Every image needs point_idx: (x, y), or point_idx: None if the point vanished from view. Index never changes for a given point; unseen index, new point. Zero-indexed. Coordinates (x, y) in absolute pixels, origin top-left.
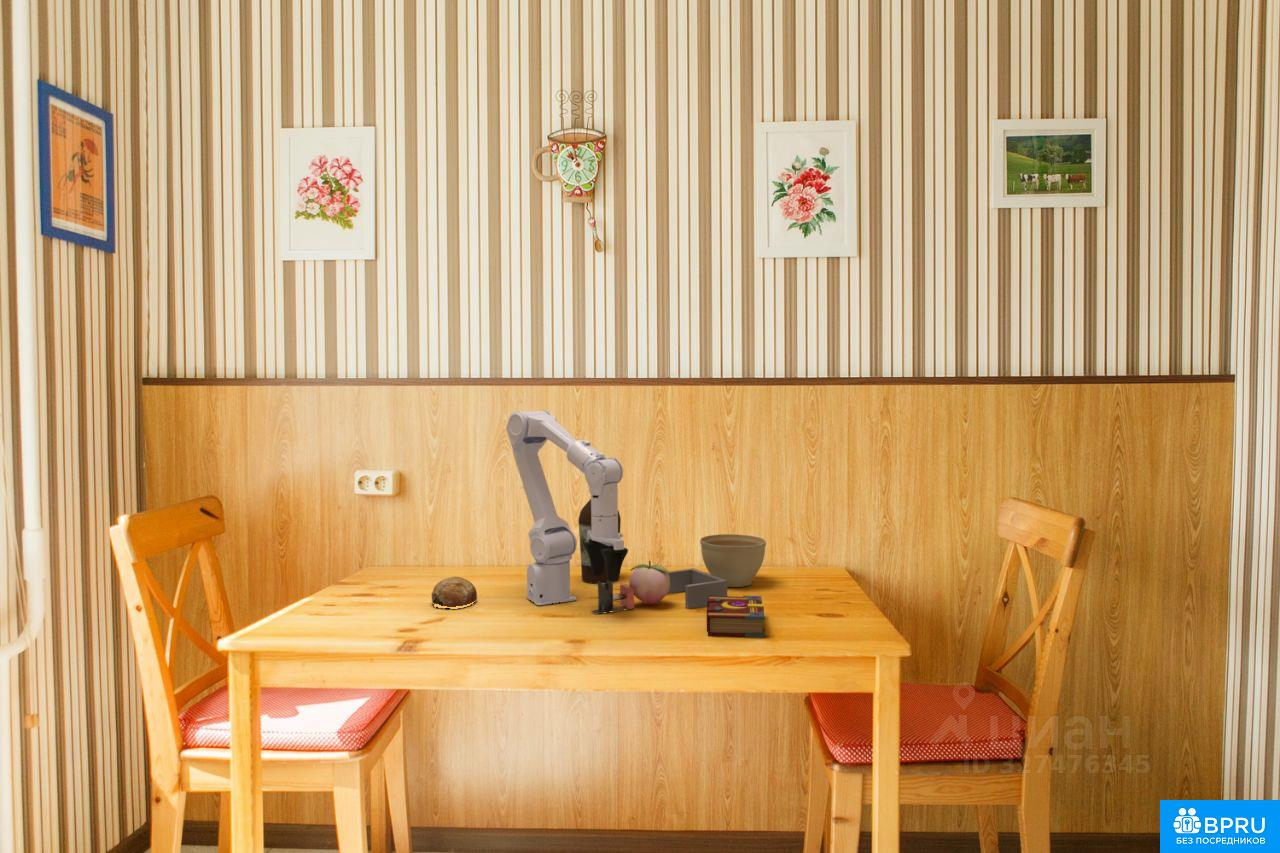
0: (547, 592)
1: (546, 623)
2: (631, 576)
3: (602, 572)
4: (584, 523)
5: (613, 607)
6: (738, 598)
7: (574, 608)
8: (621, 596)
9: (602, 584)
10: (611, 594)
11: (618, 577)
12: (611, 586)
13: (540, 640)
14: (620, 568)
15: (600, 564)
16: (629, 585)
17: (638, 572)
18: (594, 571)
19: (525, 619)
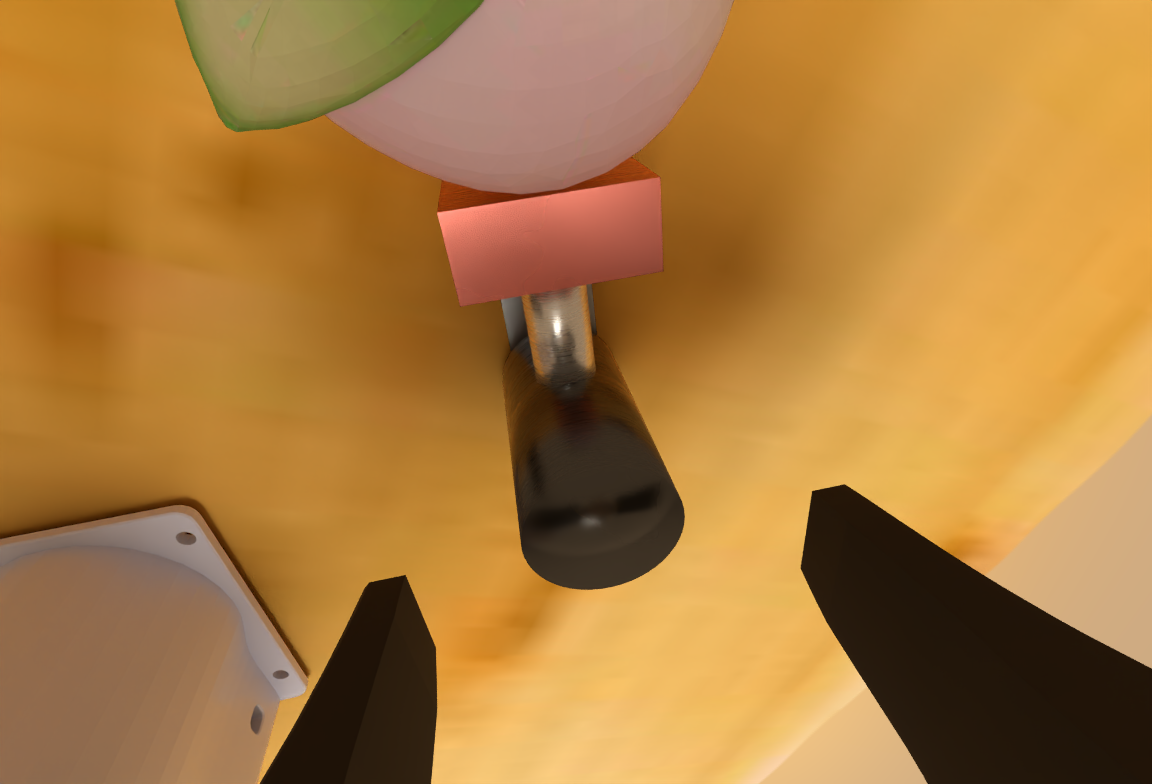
0: (234, 716)
1: (639, 647)
2: (515, 183)
3: (407, 593)
4: None
5: (504, 302)
6: None
7: (403, 528)
8: (586, 289)
9: (659, 556)
10: (640, 414)
11: (880, 510)
12: (660, 460)
13: (840, 663)
14: (1005, 591)
15: (391, 720)
16: (532, 199)
17: (641, 79)
18: (435, 686)
19: (537, 709)
